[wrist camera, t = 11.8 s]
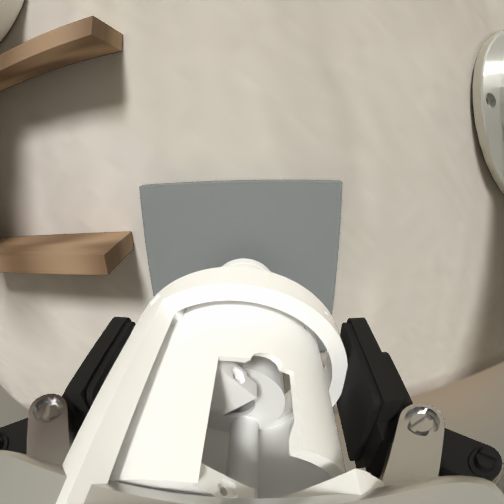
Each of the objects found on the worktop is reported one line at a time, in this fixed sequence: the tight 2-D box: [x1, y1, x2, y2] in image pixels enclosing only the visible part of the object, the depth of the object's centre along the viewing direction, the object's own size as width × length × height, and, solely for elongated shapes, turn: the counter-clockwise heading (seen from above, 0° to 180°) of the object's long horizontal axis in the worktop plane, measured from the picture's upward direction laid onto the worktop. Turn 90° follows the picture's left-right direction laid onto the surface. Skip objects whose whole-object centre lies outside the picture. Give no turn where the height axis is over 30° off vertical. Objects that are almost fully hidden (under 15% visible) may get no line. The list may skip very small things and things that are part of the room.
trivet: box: [139, 180, 342, 351], centre depth 17 cm, size 10×10×1 cm
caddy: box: [0, 16, 134, 275], centre depth 13 cm, size 12×12×4 cm
